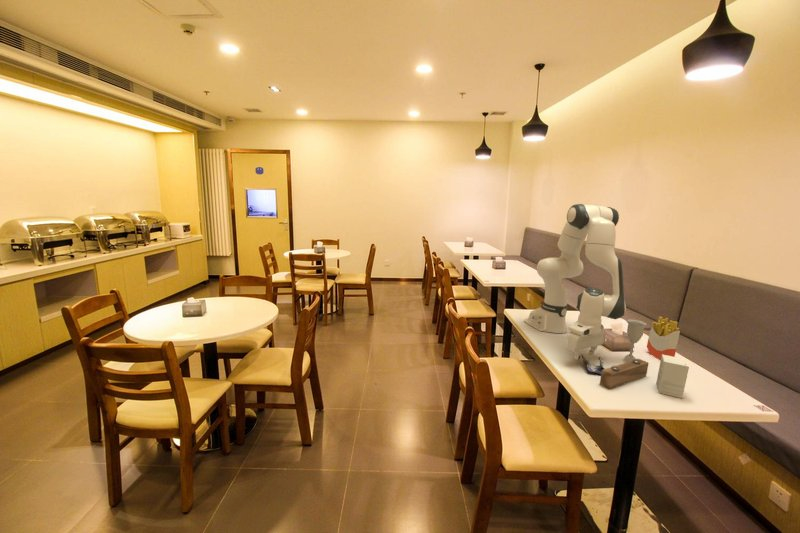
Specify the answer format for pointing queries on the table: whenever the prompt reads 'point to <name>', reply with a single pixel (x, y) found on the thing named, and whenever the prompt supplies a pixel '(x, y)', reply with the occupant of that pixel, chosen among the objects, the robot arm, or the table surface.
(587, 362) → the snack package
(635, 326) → the chalice
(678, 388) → the supplement box
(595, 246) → the robot arm
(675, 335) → the french fries container
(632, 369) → the bar
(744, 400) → the table surface
